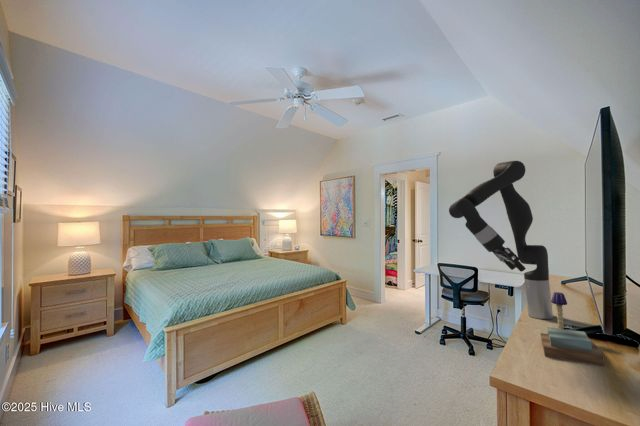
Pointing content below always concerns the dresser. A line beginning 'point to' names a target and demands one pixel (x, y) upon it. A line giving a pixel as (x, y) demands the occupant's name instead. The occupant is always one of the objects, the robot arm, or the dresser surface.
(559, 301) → the toy lamp
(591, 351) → the brick stand
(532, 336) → the dresser surface
